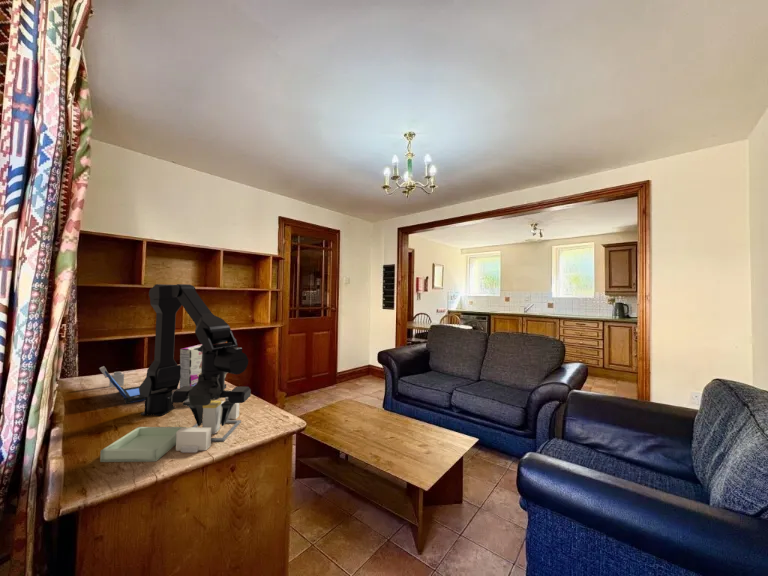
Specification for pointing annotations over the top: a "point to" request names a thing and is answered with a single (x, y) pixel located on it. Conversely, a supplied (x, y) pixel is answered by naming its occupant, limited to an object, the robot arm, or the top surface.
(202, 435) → the headphones
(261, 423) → the top surface
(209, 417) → the yellow-capped grey block
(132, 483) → the top surface
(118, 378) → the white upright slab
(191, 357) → the candy bar box
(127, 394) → the handheld game console
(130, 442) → the tray
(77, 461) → the top surface
